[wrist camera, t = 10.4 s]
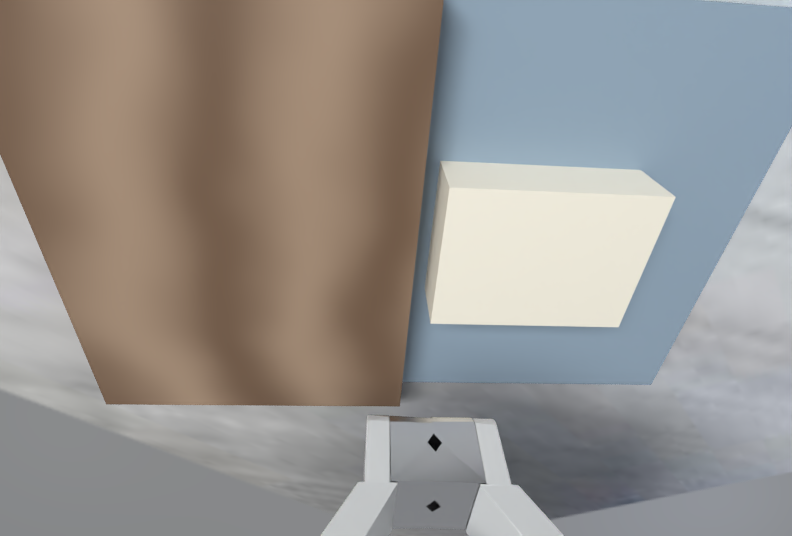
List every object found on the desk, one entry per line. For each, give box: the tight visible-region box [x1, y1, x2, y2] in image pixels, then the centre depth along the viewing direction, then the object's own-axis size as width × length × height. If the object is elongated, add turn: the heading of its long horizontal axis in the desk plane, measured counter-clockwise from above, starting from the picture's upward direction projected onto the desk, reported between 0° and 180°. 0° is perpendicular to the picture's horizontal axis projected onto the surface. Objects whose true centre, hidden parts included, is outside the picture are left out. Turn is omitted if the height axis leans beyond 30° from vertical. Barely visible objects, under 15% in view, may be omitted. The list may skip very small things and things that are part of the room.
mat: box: [402, 0, 792, 385], centre depth 20 cm, size 14×18×1 cm
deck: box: [0, 0, 444, 406], centre depth 18 cm, size 14×18×2 cm
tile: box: [425, 161, 676, 327], centre depth 18 cm, size 8×6×2 cm
